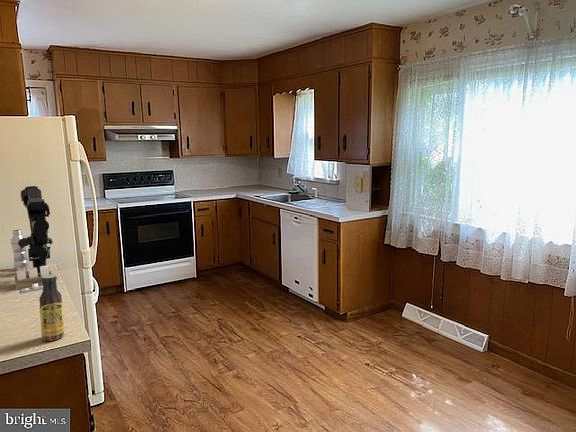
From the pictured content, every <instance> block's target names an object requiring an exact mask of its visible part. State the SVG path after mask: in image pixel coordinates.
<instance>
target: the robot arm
mask: <svg viewBox="0 0 576 432" xmlns="http://www.w3.org/2000/svg"><path fill="white" fill-rule="evenodd" d="M20 201H21V202H22V203H23V204H22V205H23V206H24V208H26V212H27V217H28V220H29V228H30V235H29V236H27V237H25V238H22V239H19V241H18V245H19V246H20V247H21V248H24V247H25V246H26V247H28V248H27V258H28V261H29V262H32V268H33V267H37V273H40V266H47V260H48V259H51V245H53V243H54V242H53V241H54V240H53V239H52V238H51V237H49V235H48V233H49V229H50V223H49V222H48V220H47V218H48V217H50V215H51V211H50V206H49V204H48V203H47V202H45V199H44V198H43V195H42V190H41V189H40V188H38V186H36V185H33V186H32V185H30V186H26V187H24V189H22V190H20ZM48 244H50V246H48Z"/></svg>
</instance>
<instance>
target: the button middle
mask: <svg viewBox="0 0 576 432" xmlns="http://www.w3.org/2000/svg"><path fill="white" fill-rule="evenodd" d="M27 269H28V275H29V278H35V277H38V273H37V267H33V266H32V267H28V268H27Z"/></svg>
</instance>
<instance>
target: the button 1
mask: <svg viewBox="0 0 576 432" xmlns="http://www.w3.org/2000/svg"><path fill="white" fill-rule="evenodd" d="M15 271H16V276H17V279H18V280H22V279H26V275H27V273H26V269H20V270H16V269H15Z"/></svg>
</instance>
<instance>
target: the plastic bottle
mask: <svg viewBox="0 0 576 432" xmlns="http://www.w3.org/2000/svg"><path fill="white" fill-rule="evenodd" d="M12 235H13V236H12V237H11V239H10V245H11V248H12V249H11V250H12V252H13V267H14V269H15V271H16V270H20V269H25V270H26V269H28V268H30V261H29V258H28V253H27V246H25V247H24V248H21V247H20V246H19V245H18V241H19V239H22V238H26V237H25V236H24V235H23V231H22V229H14V230H12Z"/></svg>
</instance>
